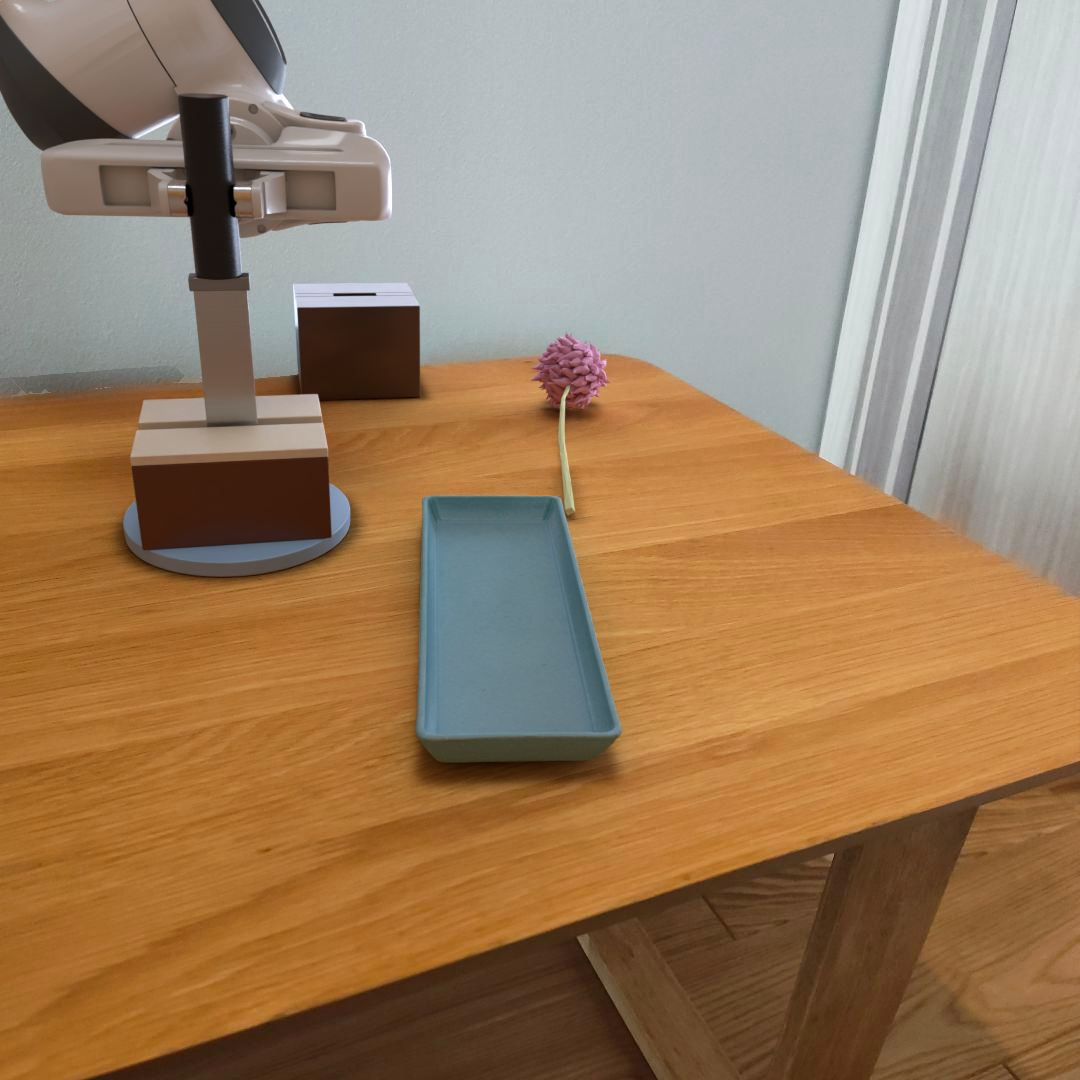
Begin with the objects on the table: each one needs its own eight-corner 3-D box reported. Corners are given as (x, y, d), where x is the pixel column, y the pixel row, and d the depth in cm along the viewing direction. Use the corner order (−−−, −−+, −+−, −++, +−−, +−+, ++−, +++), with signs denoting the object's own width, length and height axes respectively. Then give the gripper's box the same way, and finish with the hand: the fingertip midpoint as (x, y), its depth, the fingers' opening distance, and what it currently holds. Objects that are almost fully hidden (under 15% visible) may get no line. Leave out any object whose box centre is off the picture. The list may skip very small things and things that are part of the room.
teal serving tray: (421, 522, 70) (421, 488, 69) (558, 523, 71) (561, 489, 70) (414, 783, 47) (414, 738, 46) (619, 779, 48) (624, 735, 46)
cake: (113, 585, 61) (96, 473, 57) (134, 486, 73) (121, 389, 69) (360, 567, 64) (357, 460, 61) (341, 475, 76) (338, 382, 73)
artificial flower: (631, 551, 74) (609, 385, 94) (624, 466, 70) (602, 312, 90) (536, 561, 74) (534, 393, 94) (524, 477, 70) (524, 321, 90)
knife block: (302, 401, 89) (297, 307, 86) (297, 371, 96) (292, 283, 92) (420, 397, 92) (420, 305, 88) (407, 368, 98) (407, 282, 95)
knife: (208, 488, 65) (168, 96, 55) (209, 471, 68) (170, 92, 57) (265, 485, 66) (235, 98, 56) (264, 468, 68) (236, 94, 58)
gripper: (62, 109, 67) (-1, 135, 55) (387, 120, 71) (394, 147, 59) (77, 211, 70) (20, 257, 58) (388, 217, 74) (395, 262, 61)
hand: (211, 202), depth 58 cm, fingers closed on knife, 2 cm apart
